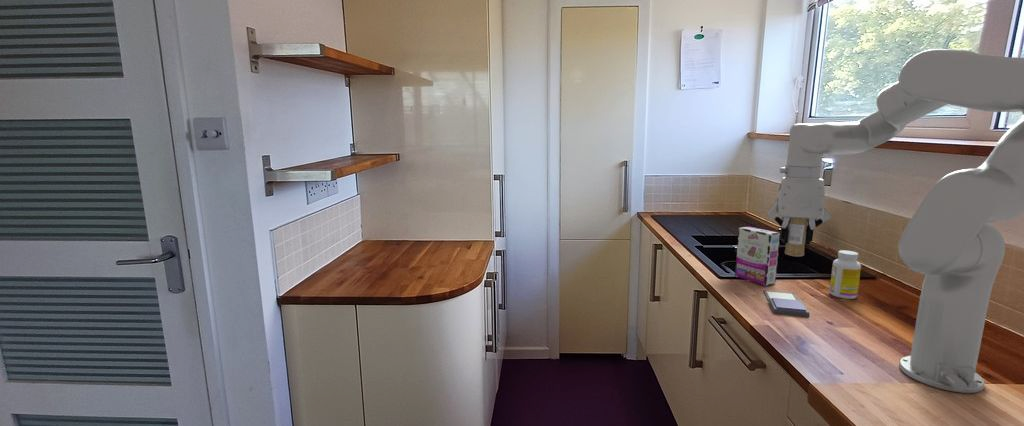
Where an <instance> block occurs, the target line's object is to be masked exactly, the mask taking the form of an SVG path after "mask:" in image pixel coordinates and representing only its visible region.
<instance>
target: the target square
mask: <svg viewBox="0 0 1024 426" xmlns="http://www.w3.org/2000/svg"><path fill="white" fill-rule="evenodd" d="M763 293H764V295H765V298H766V300H767V301H768V302H769V298H779V299H790V300H799V298H798V297H797V295H796V293H794V292H787V291H786V292H785V291H775V290H764V289H763Z"/></svg>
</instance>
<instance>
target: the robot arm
mask: <svg viewBox="0 0 1024 426" xmlns="http://www.w3.org/2000/svg"><path fill="white" fill-rule="evenodd" d="M897 80H898V81H896V82H894V83H892V84H891V85H889V86H887V87H885V88H883V89H882V90H881V91H880V92H879V93H878V94H877V97H876V102H875V103H876V106H877V110H876V111H874V112H872V113H870V114H869V115H867V116H865V117H863V118H860V119H859V120H857V121H851V122H850V121H845V122H844V121H843V122H841V121H840V122H824V123H823V122H822V123H814V122H813V123H812V122H809V123H806V122H805V123H802V122H801V123H795V124H793V125H791V127H790V130H789V138H788V149H787V158H786V165H785V166H784V167H780V168H779V174H783V175H784V177H782V179H781V181H780V185H779V189H778V192H777V199H776V203H775V204H774V205H773V206H772V207H771V208H770V209H769V211H768V212H767V213H766V214H767V216H768V217H769V218H771V219H772V220H773V221H775V222H776V223H777V224H778V225H779V226H780V232H779V233H780V240H781V241H782V243H783V244H786V243H787V242H788V232H789V229H788V228H787V227H788V222H789V219H790V218H806V219H807V229H806V242H805V245H806V246H810V244H811V242H813V237H814V230H816V228H817V227H819V226H821V224H822V223H825V222H826V221H829V220H831V218H832V216H831V214H830V213H829V212H828V211H827V208H826V207H825V204H826V203H825V202H826V201H825V199H826V198H825V194H826V193H825V191H826V190H825V180H824V179H823V178H821V173H822V163H823V162H822V161H823V156H837V155H839V156H840V155H855V154H856V155H857V154H861V153H864V152H867V151H869V150H871V149H873V148H875V147H877V146H880V145H882V144H884V143H886V142H888V141H890V140H892V139H893V138H895V137H896V136H898V135H899V134H900V133H902V131H903V130H904V129H905V128H906V126H907V125H908V124H910V123H912V122H915V121H916V120H919V119H921V118H923V117H924V116H926V115H928V114H931V113H933V112H935V111H936V110H939V109H941V108H943V107H945V106H947V105H951V106H956V107H959V108H966V109H971V110H977V111H982V112H990V113H991V112H993V113H994V112H995V113H1016V112H1017V113H1019V112H1021V113H1022V114H1021V117H1020V119H1019V120H1018V121H1017V122H1016V123H1015V124H1014V125H1013V126H1012V127H1011V128H1009V129H1008V130H1007V131H1006V132H1005V133H1004V134H1003V135H1002V137H1001V138H1000V139H999V140H998V141H997V143H996V144H995V146H994V148H993V150H992V151H991V152H990V153H989V155H988V157H987V158H986V159H985V160H984V161H983V163H982V164H981V165H980V166H978V167H976V168H975V167H974V168H965V169H959V170H955V171H953V172H950V173H948V174H946V175H945V176H943V177H941V178H939V180H937V181H936V182H935V183H934V184H933V185H932V186H931V188H929V190H928V192H927V193H926V195H925V196H924V198H923V199H922V201H921V202H920V204H919V205H918V207H917V209H916V211H915V212H914V214H913V215H912V217H911V218H910V220H909V221H908V223H907V225H906V226H905V228H904V230H903V232H902V233H901V235H900V238H899V242H898V252H899V253H898V254H899V256H900V258H901V260H902V262H903V263H904V264H905V266H907V268H909V269H911V270H912V271H914V272H916V273H919V274H922V275H925V277H924V278H923V282H922V285H921V292H920V296H919V302H918V307H917V308H918V310H917V315H916V320H915V327H914V332H913V333H914V334H913V338H912V346H911V351H910V355H906V356H903V357H901V358H900V360H899V364H898V367H899V369H900V370H901V371H902V373H904V374H905V375H906V376H908V377H910V378H912V379H914V380H915V381H918V382H919V383H922V384H923V385H924V384H925V385H927V386H929V387H933V388H937V389H940V390H945V391H948V392H953V393H954V392H955V393H963V394H972V393H979V392H981V391H983V390H984V388H985V384H986V383H985V379H984V378H983V377H982V376H981V375H980V374H978V373H977V372H976V370H977V365H978V359H979V355H980V350H981V345H982V338H983V333H984V328H985V322H986V318H987V312H988V308H989V304H990V303H989V302H990V299H991V294H992V290H993V285H994V283H995V280H996V277H997V275H998V273H999V270H1000V268H1001V265H1002V263H1003V260H1004V257H1005V254H1006V243H1005V242H1006V241H1005V238H1004V236H1003V234H1002V233H1001V232H1000V230H999V229H997V228H996V227H995V226H994V225H992V224H990V223H995V222H997V223H998V222H1006V221H1011V220H1014V219H1016V218H1017V219H1018V218H1019V217H1021V216H1023V215H1024V57H1015V56H1014V57H1013V56H1012V57H1011V56H997V55H987V54H986V55H985V54H980V53H979V54H978V53H977V52H974V51H971V50H966V49H952V48H951V49H947V48H933V49H932V48H930V49H926V50H923V51H921V52H918V53H917V54H914V55H913V56H911V57H910V58H909V59H908V60H906V62H905V63H904V64H903V65H902V67H901V69H900V70H899V73H898V79H897ZM776 213H777V214H778V215H779V216H781V218H780V217H779V216H778V215H777V214H776Z"/></svg>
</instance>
